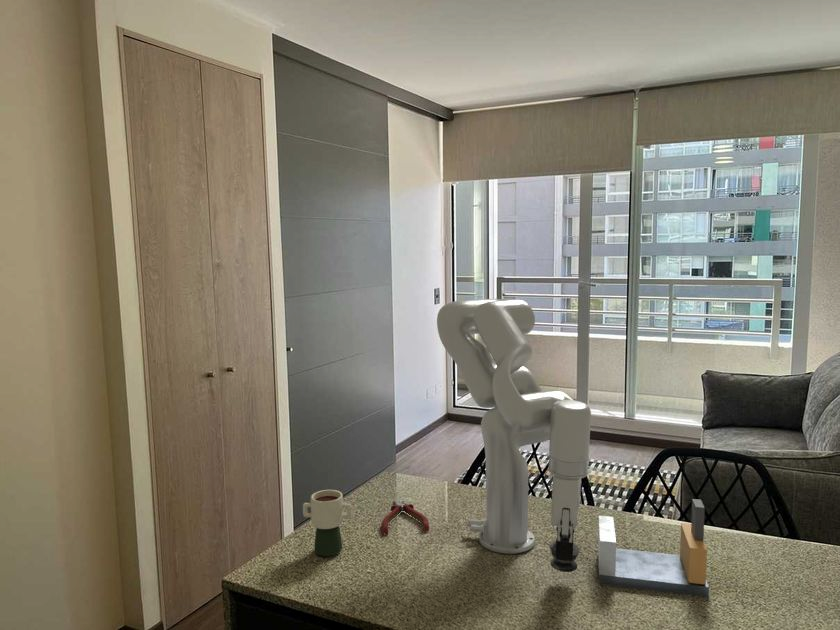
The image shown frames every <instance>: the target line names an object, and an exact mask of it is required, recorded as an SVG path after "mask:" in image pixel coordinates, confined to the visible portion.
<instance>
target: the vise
mask: <svg viewBox="0 0 840 630" xmlns="http://www.w3.org/2000/svg"><path fill="white" fill-rule="evenodd" d="M597 524H598V527H597V529H598V530H597V531H598V532H597V535H598V536H597V537H598V538H597V542H598V543H597V561H598V562H597V563H598V581H599V582H598V583H599V585H602V586H603V585H605V586H610V587H611V586H612V587H620V588H629V589H638V590H644V591H645V590H646V591H652V592H653V591H654V592H662V593H663V592H664V593H670V594H679V595H687V596H695V597H704V598H705V597H706V598H709V595H710V594H709V593H710V587H709V586H710V585H709V584H708V581H707V580H706V585H705V584H696V583H689V582H688V579H687V575H686V572H685V569H684V566H683V563H682V560H681V557H680V554H674V553H672V554H671V553H664V552H656V551H655V552H654V551H643V550H636V549H635V550H634V549H626V548H617V539H616V532H615V531H616V529H615V522H614V516H607V515H598V523H597Z"/></svg>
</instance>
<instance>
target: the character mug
mask: <svg viewBox="0 0 840 630" xmlns="http://www.w3.org/2000/svg"><path fill="white" fill-rule="evenodd" d="M343 500H344V499H343V493H342V492H341V491H339V490H336V489H323V490H319V491H316V492H314V493H312V494H311V495H310V502H304V503H303V504H302V515H303V517H304V518H310V519H311V524H312V526H313V527H314V528H316V529H315V538H314V548H313V549H314V551H313V552H315V553H316V554H317V555H319V556H321V557H329V556H334V555H336V554H338V553H339V552H341V550H342V549H343V541H342V535H341V534H342V533H341V530H340V529H341V527H340V526H341V525H342V523H343V521H344V519H350V518H352V516H353V514H352V504H351V503H345V502H344V501H343ZM308 508H310V512H308ZM344 509H346V510H347V511H346V513H344Z"/></svg>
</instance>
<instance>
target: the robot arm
mask: <svg viewBox="0 0 840 630" xmlns="http://www.w3.org/2000/svg"><path fill="white" fill-rule="evenodd" d="M535 324H536V316H535V312H534V310H533V308H532V307H531V306H530V304H528V303H527V302H526V301H524V300H522V299H507V298H506V299H505V298H485V299H465V300H455V301H451V302H448V303H446V304H444V305H443V306H441V308H440V309H439V311H438V313H437V316H436V325H437V326H436V327H437V328H436V329H437V332H438V333H437V334H438V336H439V340H440V342H441V344H442V346H443V348H444V349H445V350H446V353H448V355H449V356H450V358H451V359H452V361H454V363H455V364H456V366H457V368H458V370H459V373H460V376H461V377H462V379H463V381H464V383H465V385H466V387H467V389H468V391H469V394H470V396H471V398H472V399H473V401H474V403H475V404H476V405H477V407H481V408H484V409H489V410H487V411H486V412H485V413H483V416H482V419H481V422H480V428H481V429H480V431H481V436H482V441H483V447H484V454H485V457H484V458H485V518H481V519H475V518H467V523H466V524H467V525H466V526H467V528H470V531H471V532H475V533H476V532H477V533H478V532H479V536H478V537H479V538H478V539H479V542H480V544H481V545H482V547H484V548H486V549H487V550H489V551H492V552H495V553H499V554H508V555H509V554H521V553H524V552H527V551H529V550H531V549H532V548H533V547H534V545H535V544H536V542H535V541H536V537H535V534H533V532H532V531H530V530H529V466H528V463H527V460H526V459H525V457H524V455H522V454H523V453H521V451H520V448H521V447H525V446H529V445H534V444H539V443H544V442H548V441H549V446H548V447H549V448H548V449H549V450H548V472H549V473H550V475H553V478H552V485H551V486H552V487H551V488H552V491H551V509H550V510H551V511H550V512H551V513H550V515H551V516H550V525H551V526H552V527H554V526H556V527H558V532H557V531H556V532H557V533H556V537H557V536H558V539H557V538H556V540H555V541H556V559H557V560H564V561H572V560H573V543H574V540H573V541H572V532H573V529H574V530H575V529H576V528H577V524H578V517H579V510H580V502H581V490H582V479H584V478H586V477H587V476H588V475H589V461H590V460H589V458H590V457H589V456H590V439H591V421H592V420H591V418H592V411H591V408H590V406H589V405H587V403H584V402H582V401H579V400H574V399H573V398H572V397H570V396H569V395H568V394H567V393H565V392H564V391H561V390H547V391H543V390H542V388H541V386H540V384H539V382H538V380H537V378H535V375H534V374H533V373H532V371H530V370H531V369H528V368H527V367H525V365H527V364H528V362H529V361H530V360H531V358H532V355H533V347H532V346H531V344H530V343H529V341H528V339H527V338H526V336H525V335H527V334H530V333H531V332H532V331H533V329H534V327H535ZM471 335H479V337H480V339H481V340H482V341H483V343H482V342H480V341H479V340H477V339H476V338H474V337H473V336H471ZM562 512H563V514H562ZM569 512H570V515H569ZM560 520H561V521H562V524H560ZM569 522H571V525H569ZM561 528H562V532H561ZM569 529H570V534H569V533H568V530H569Z"/></svg>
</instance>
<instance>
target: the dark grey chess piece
mask: <svg viewBox="0 0 840 630" xmlns="http://www.w3.org/2000/svg"><path fill="white" fill-rule="evenodd" d="M562 514H563V512H562ZM569 515H570V512H569ZM560 524H562V521H561V520H560ZM569 525H571V522H569ZM555 529H556V532H558V526H556V528H555ZM561 532H562V528H561ZM568 533H569V534H570V529H569V530H568ZM575 533H576V531H575V528H574V529H573V532H572V541H573V560H572V561H564V560H557V559H556V540H555V541H552V542H550V544H549V549H550V552H551V553H550V554H551V555H552V559H551V560H550V563H549V564H550V567H552V568H553V569H555V570H556V571H559V572H561V573H562V572H563V573H572V572H575V571H576V570H577V569H578V563H577V562H576V559H577V557H578V556H579V554H580V552H581V551H580V550H581V549H580V547H579V546H578V545H577V544H576V543H574V534H575ZM556 539H558V536H557V535H556Z"/></svg>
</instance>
